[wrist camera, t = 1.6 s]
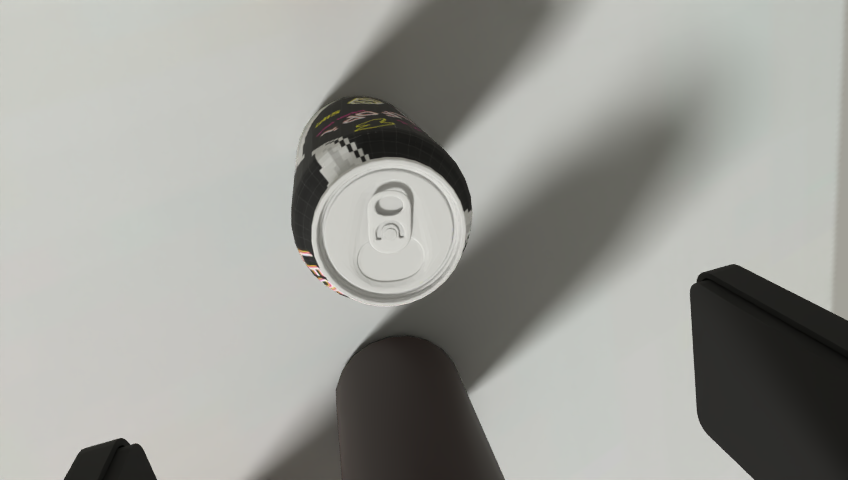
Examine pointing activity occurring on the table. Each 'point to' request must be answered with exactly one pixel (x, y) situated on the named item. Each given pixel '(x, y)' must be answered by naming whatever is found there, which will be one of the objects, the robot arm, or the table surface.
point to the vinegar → (409, 417)
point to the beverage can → (377, 204)
